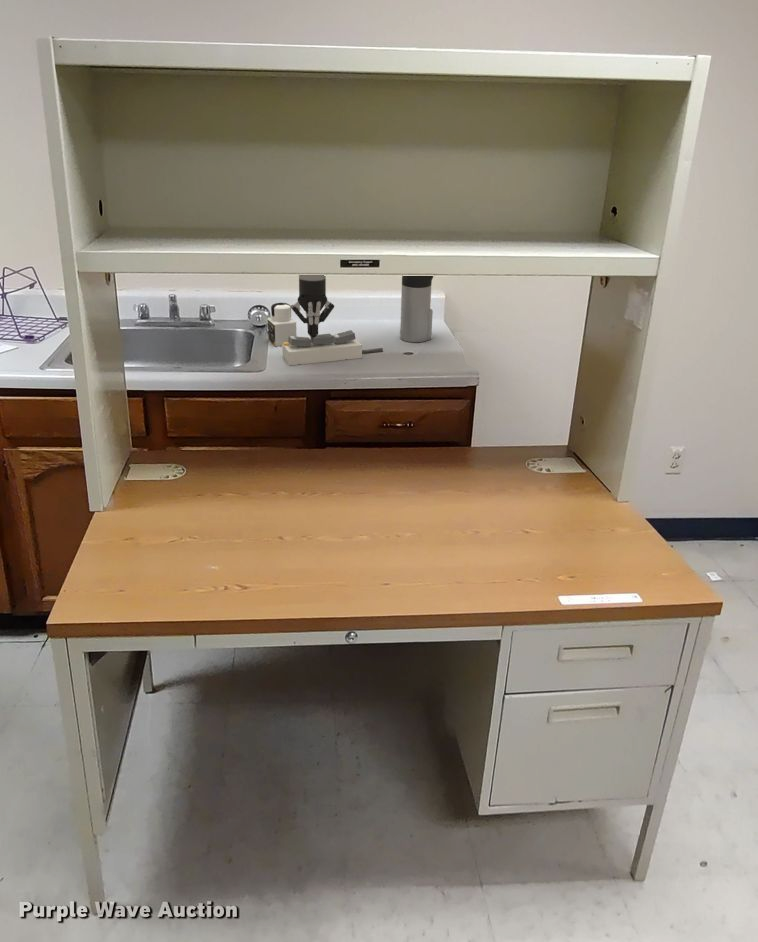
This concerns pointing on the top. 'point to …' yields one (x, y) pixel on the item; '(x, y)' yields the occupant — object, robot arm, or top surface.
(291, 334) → the medicine bottle
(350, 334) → the rocker
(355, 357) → the power strip
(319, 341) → the rocker middle
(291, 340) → the rocker
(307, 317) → the robot arm
